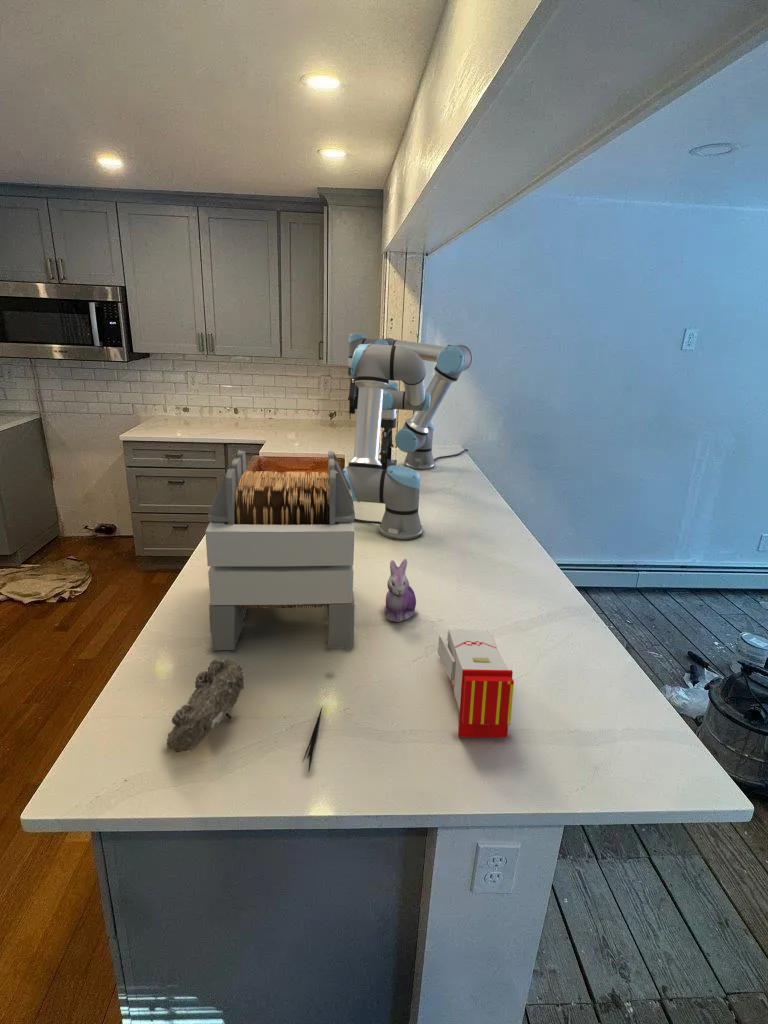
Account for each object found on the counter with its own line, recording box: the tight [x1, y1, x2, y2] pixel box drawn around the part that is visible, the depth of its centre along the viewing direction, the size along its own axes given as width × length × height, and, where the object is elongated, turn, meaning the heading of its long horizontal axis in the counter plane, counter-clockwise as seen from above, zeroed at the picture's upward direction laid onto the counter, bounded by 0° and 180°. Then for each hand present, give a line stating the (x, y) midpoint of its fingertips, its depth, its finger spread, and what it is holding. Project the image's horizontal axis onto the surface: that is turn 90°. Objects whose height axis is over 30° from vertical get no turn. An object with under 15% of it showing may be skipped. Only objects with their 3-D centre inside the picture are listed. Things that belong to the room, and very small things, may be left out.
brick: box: [378, 458, 398, 470], centre depth 255 cm, size 6×9×11 cm, turn 82°
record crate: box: [204, 449, 356, 652], centre depth 138 cm, size 34×33×41 cm
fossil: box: [166, 658, 245, 754], centre depth 106 cm, size 22×10×15 cm
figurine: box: [384, 558, 417, 623], centre depth 145 cm, size 9×10×15 cm
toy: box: [437, 628, 515, 738], centre depth 117 cm, size 12×13×30 cm
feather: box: [301, 673, 332, 771], centre depth 108 cm, size 2×28×2 cm
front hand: (385, 465), depth 254 cm, fingers open, 13 cm apart
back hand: (354, 411), depth 280 cm, fingers open, 13 cm apart
